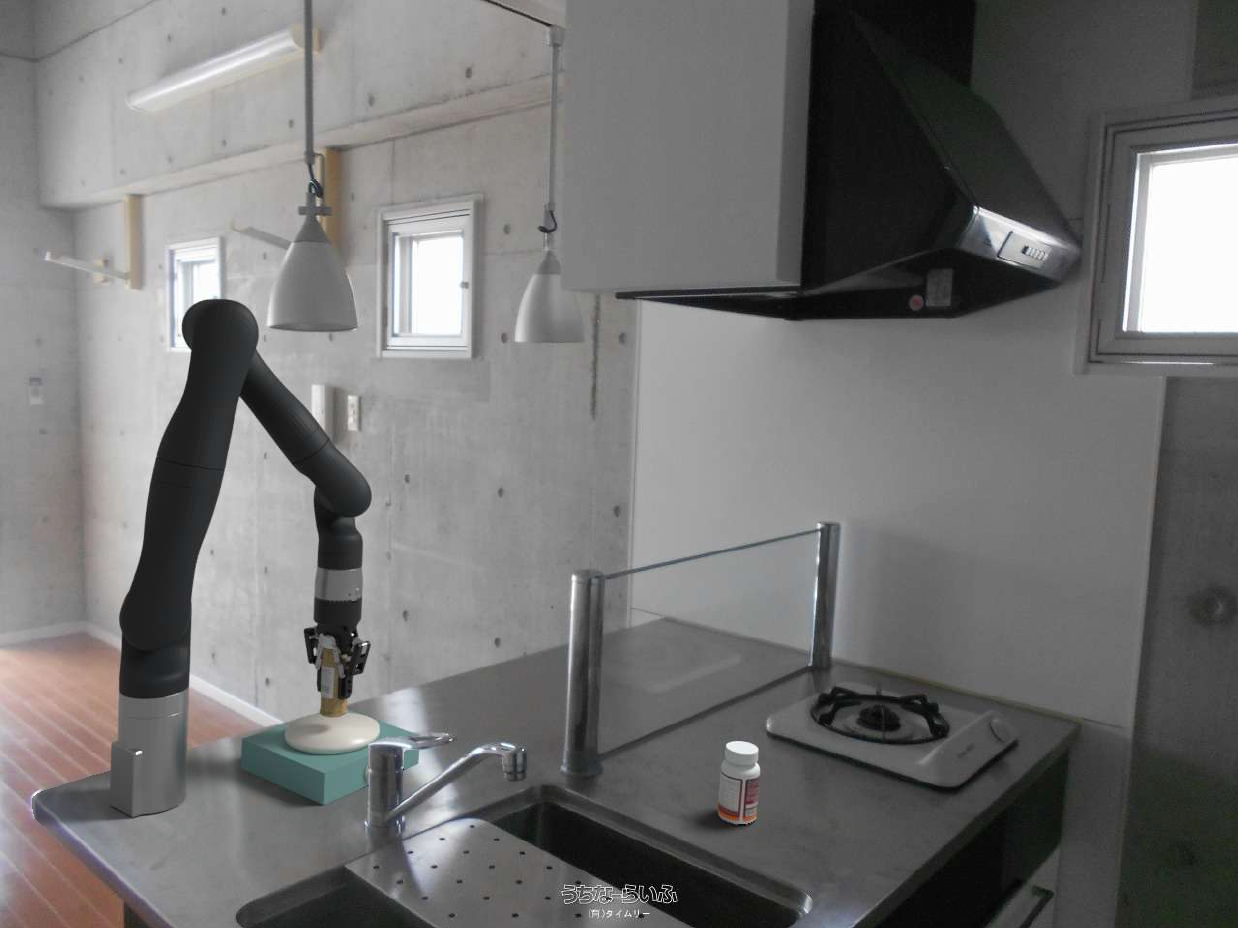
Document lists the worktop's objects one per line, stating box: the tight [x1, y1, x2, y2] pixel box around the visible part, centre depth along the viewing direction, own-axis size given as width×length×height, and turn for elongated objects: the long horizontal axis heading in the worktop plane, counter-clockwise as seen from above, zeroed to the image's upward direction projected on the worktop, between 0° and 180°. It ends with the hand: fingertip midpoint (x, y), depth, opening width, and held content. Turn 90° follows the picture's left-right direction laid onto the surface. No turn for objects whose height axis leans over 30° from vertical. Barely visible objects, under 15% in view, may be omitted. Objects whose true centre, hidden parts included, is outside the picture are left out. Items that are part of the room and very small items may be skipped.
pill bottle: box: [717, 740, 761, 825], centre depth 142 cm, size 6×6×11 cm
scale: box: [240, 709, 421, 806], centre depth 150 cm, size 20×20×5 cm
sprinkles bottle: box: [319, 635, 349, 718], centre depth 149 cm, size 5×5×14 cm
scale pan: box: [285, 713, 380, 754], centre depth 150 cm, size 15×15×1 cm
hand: (334, 694), depth 149 cm, fingers closed on sprinkles bottle, 4 cm apart
